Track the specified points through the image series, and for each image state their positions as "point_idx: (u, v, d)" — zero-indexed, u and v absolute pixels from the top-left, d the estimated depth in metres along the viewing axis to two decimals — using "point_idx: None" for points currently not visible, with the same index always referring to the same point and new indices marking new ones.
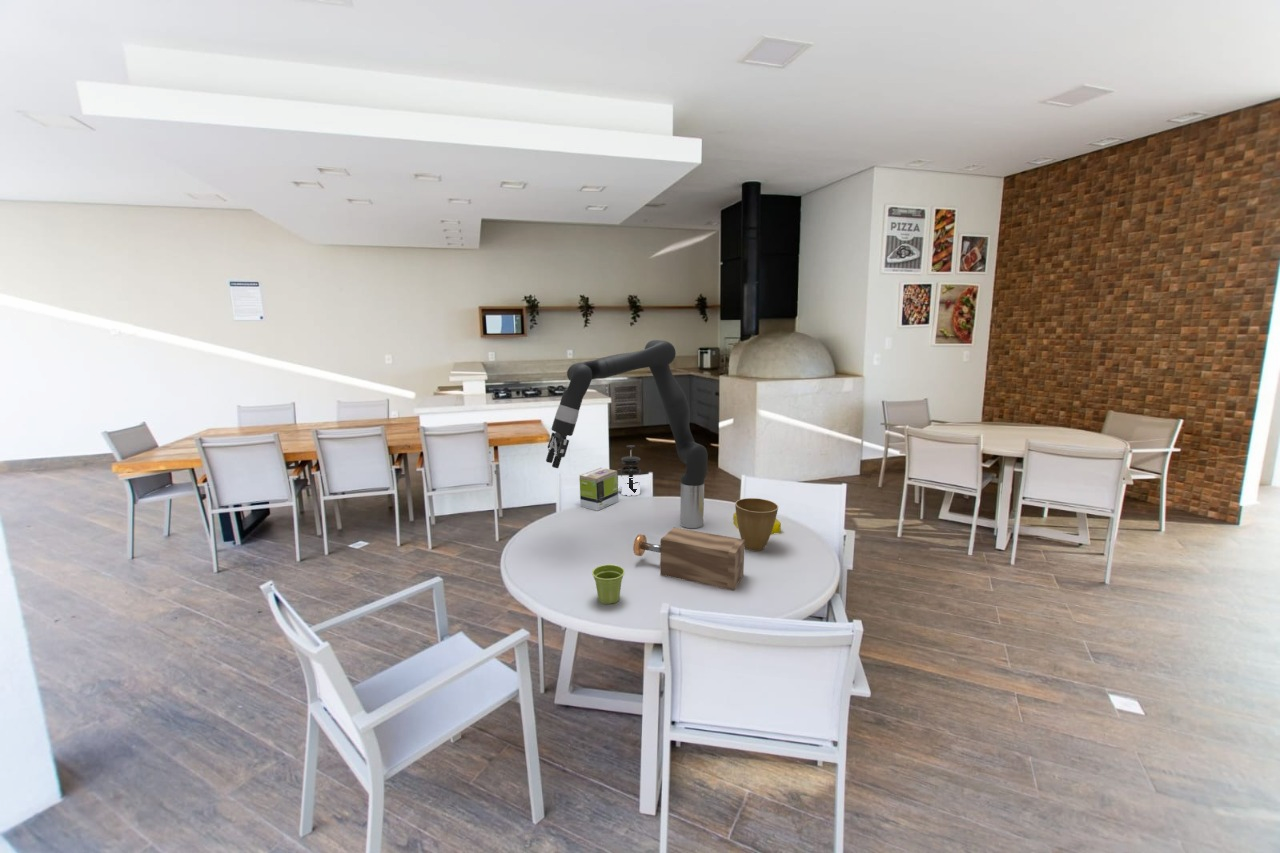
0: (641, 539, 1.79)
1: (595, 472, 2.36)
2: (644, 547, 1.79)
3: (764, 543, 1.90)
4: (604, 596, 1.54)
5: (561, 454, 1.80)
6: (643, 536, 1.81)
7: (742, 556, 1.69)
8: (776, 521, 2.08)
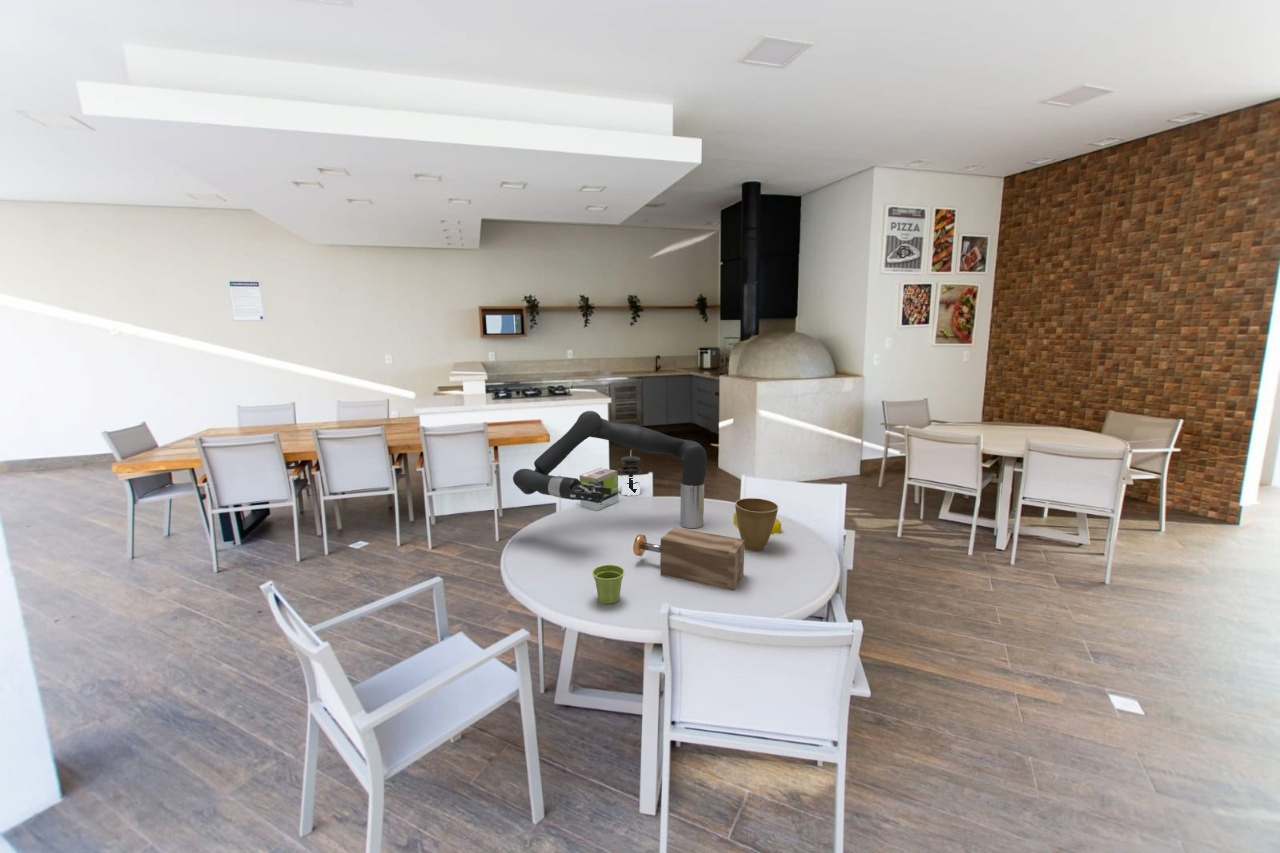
0: (641, 539, 1.79)
1: (595, 472, 2.36)
2: (644, 547, 1.79)
3: (764, 543, 1.90)
4: (604, 596, 1.54)
5: (584, 497, 1.80)
6: (643, 536, 1.81)
7: (742, 556, 1.69)
8: (776, 521, 2.08)
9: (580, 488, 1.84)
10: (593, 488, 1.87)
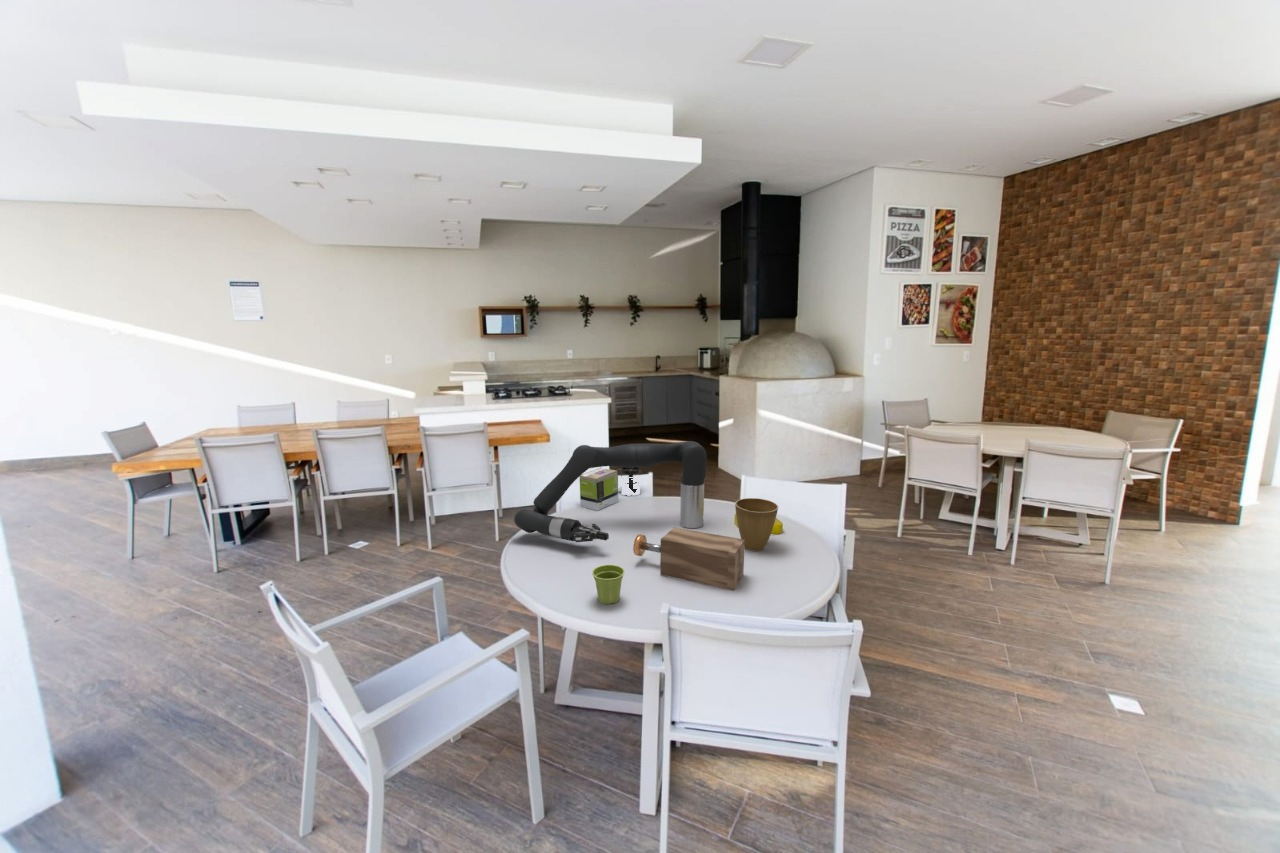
0: (641, 539, 1.79)
1: (595, 472, 2.36)
2: (644, 547, 1.79)
3: (764, 543, 1.90)
4: (604, 596, 1.54)
5: (590, 537, 1.85)
6: (643, 536, 1.81)
7: (742, 556, 1.69)
8: (778, 521, 2.08)
9: (582, 530, 1.88)
10: None
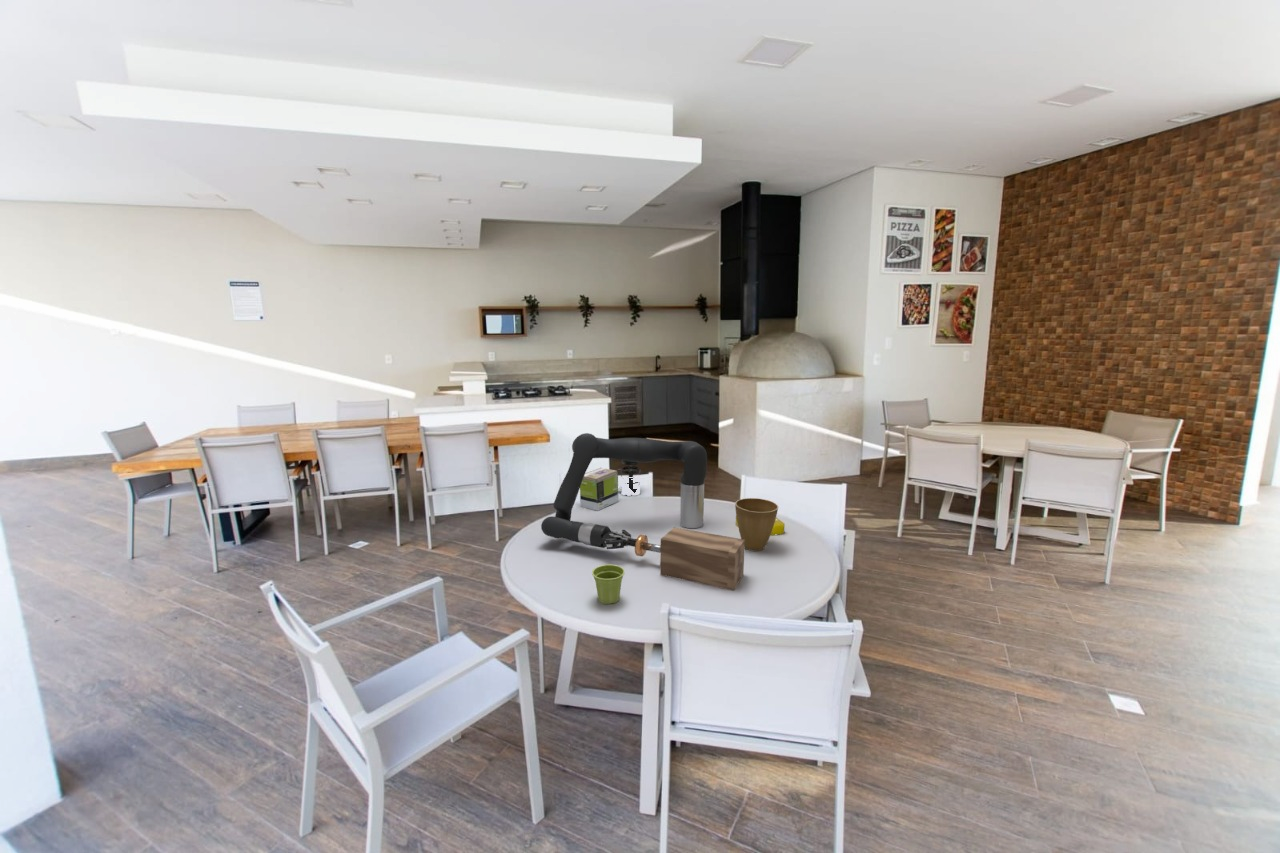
0: (642, 540, 1.79)
1: (595, 472, 2.36)
2: (645, 547, 1.78)
3: (764, 543, 1.90)
4: (604, 596, 1.54)
5: (621, 544, 1.80)
6: (644, 536, 1.80)
7: (742, 556, 1.69)
8: (780, 522, 2.07)
9: (613, 537, 1.83)
10: None
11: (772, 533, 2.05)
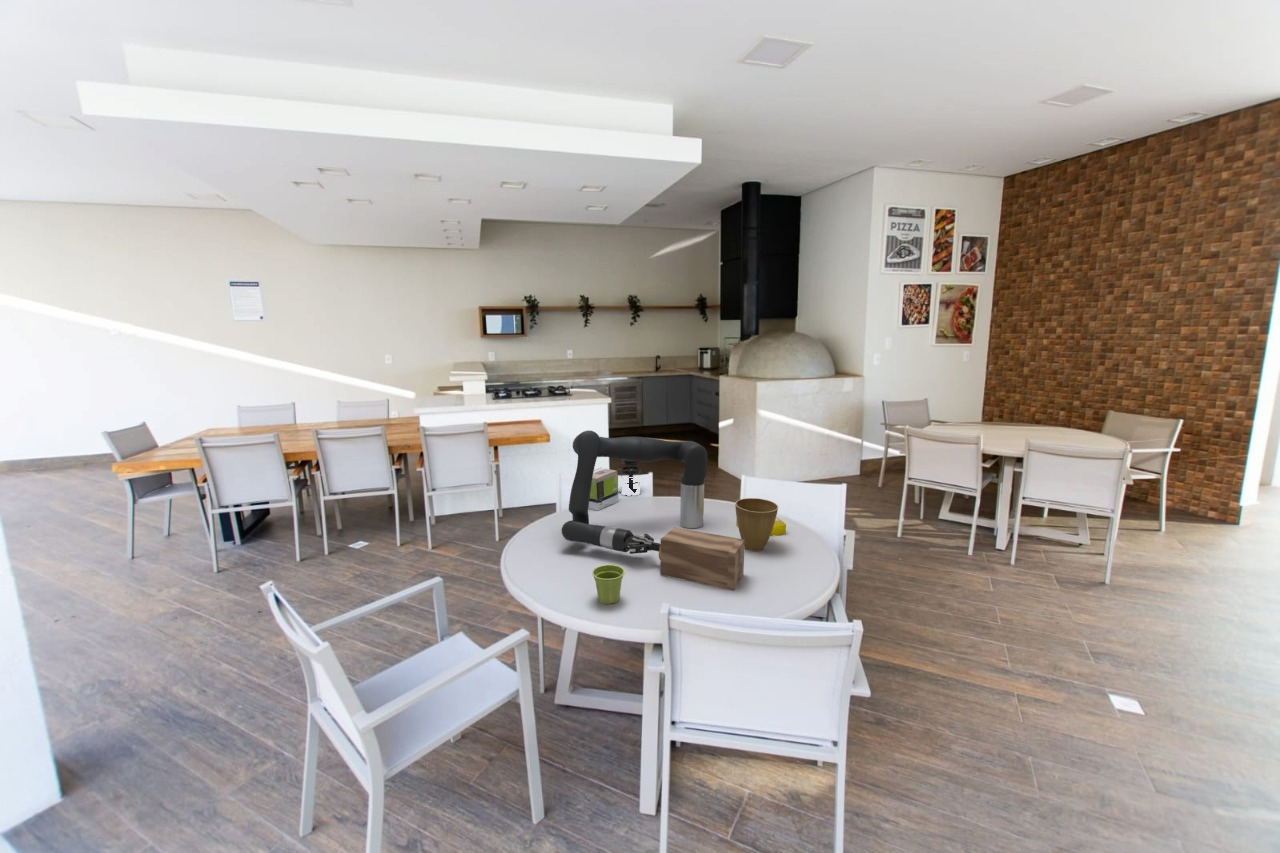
0: None
1: (595, 472, 2.36)
2: None
3: (764, 543, 1.90)
4: (604, 596, 1.54)
5: (644, 549, 1.77)
6: None
7: (742, 556, 1.69)
8: (781, 522, 2.07)
9: (636, 541, 1.79)
10: None
11: (774, 533, 2.04)
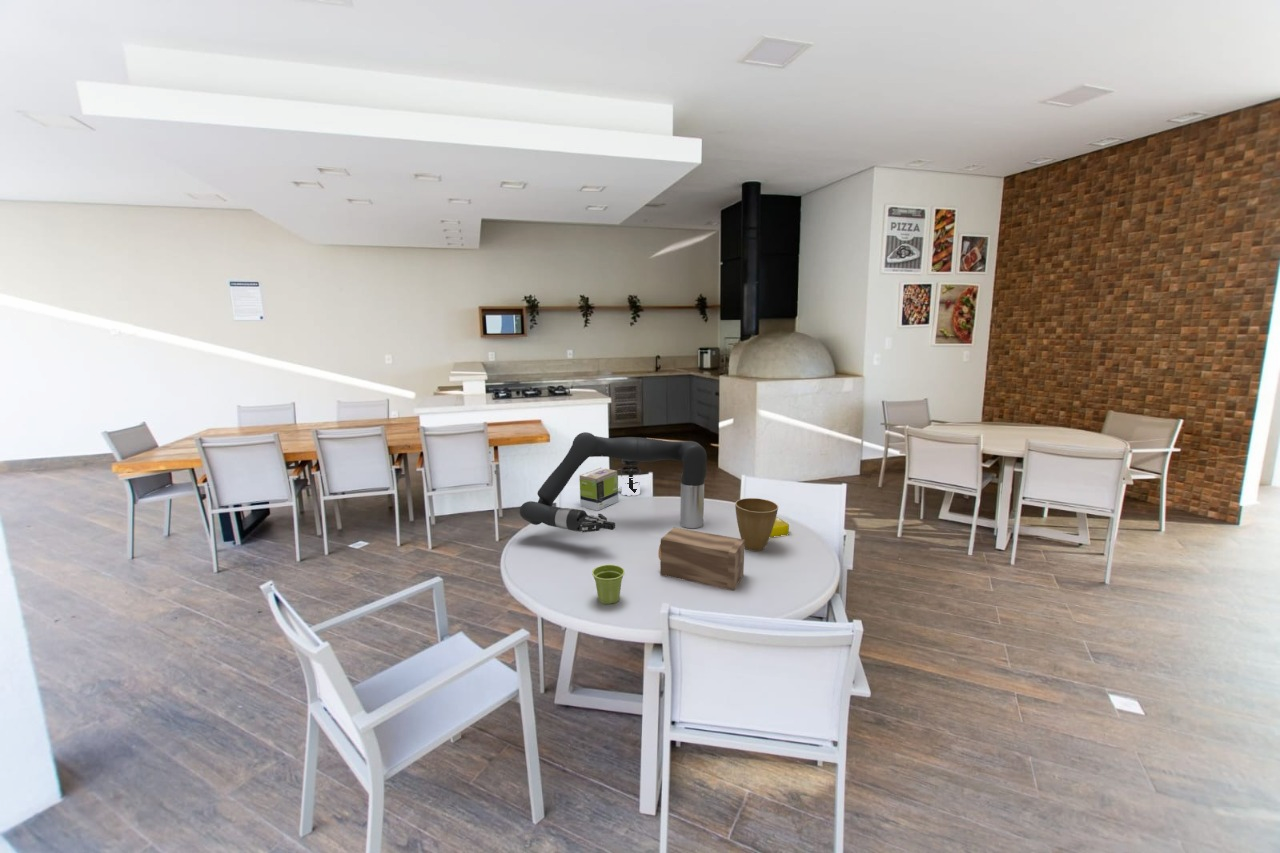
0: None
1: (595, 472, 2.36)
2: None
3: (764, 543, 1.90)
4: (604, 596, 1.54)
5: (596, 527, 1.83)
6: None
7: (742, 556, 1.69)
8: (784, 523, 2.06)
9: (588, 520, 1.86)
10: None
11: (777, 534, 2.03)
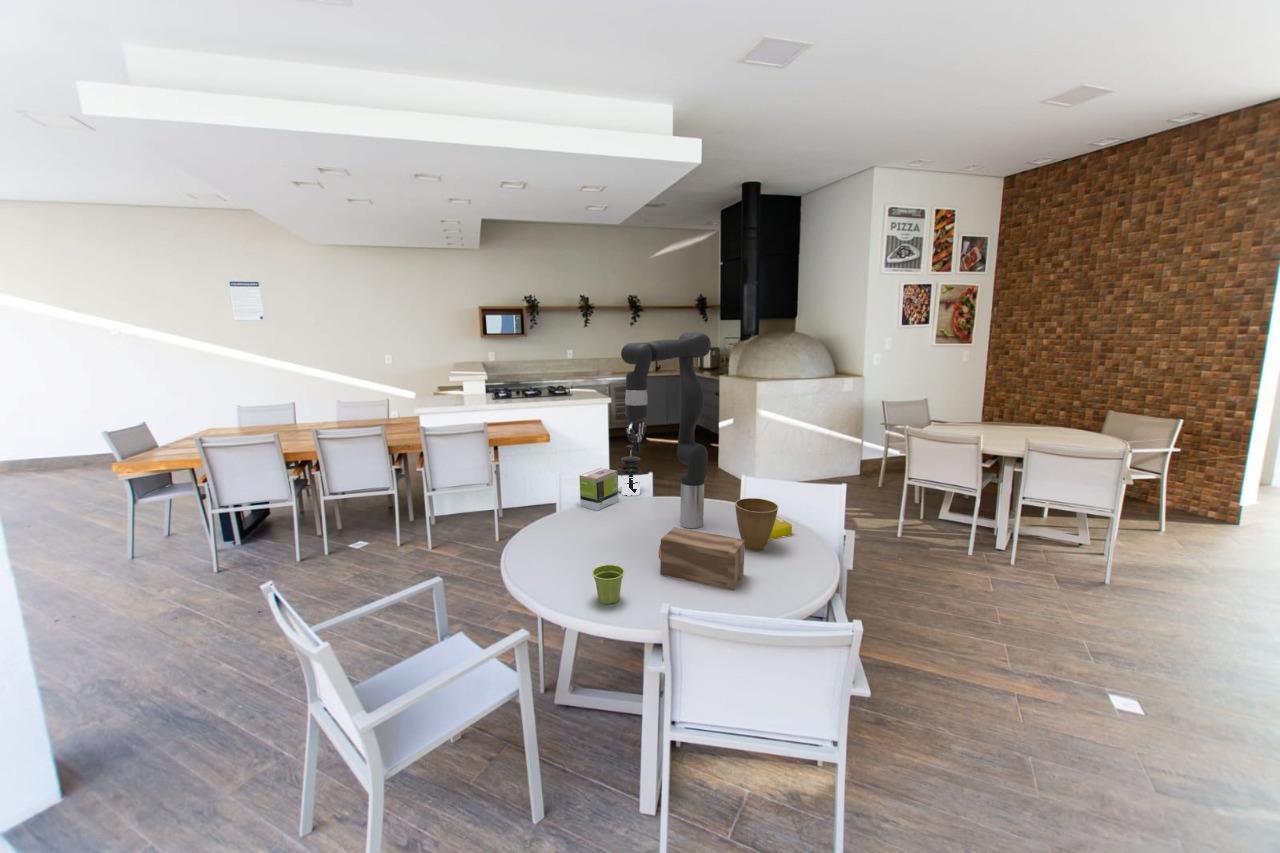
0: None
1: (595, 472, 2.36)
2: None
3: (764, 543, 1.90)
4: (604, 596, 1.54)
5: (632, 439, 1.83)
6: None
7: (742, 556, 1.69)
8: (787, 523, 2.06)
9: (637, 428, 1.83)
10: None
11: (781, 535, 2.03)
